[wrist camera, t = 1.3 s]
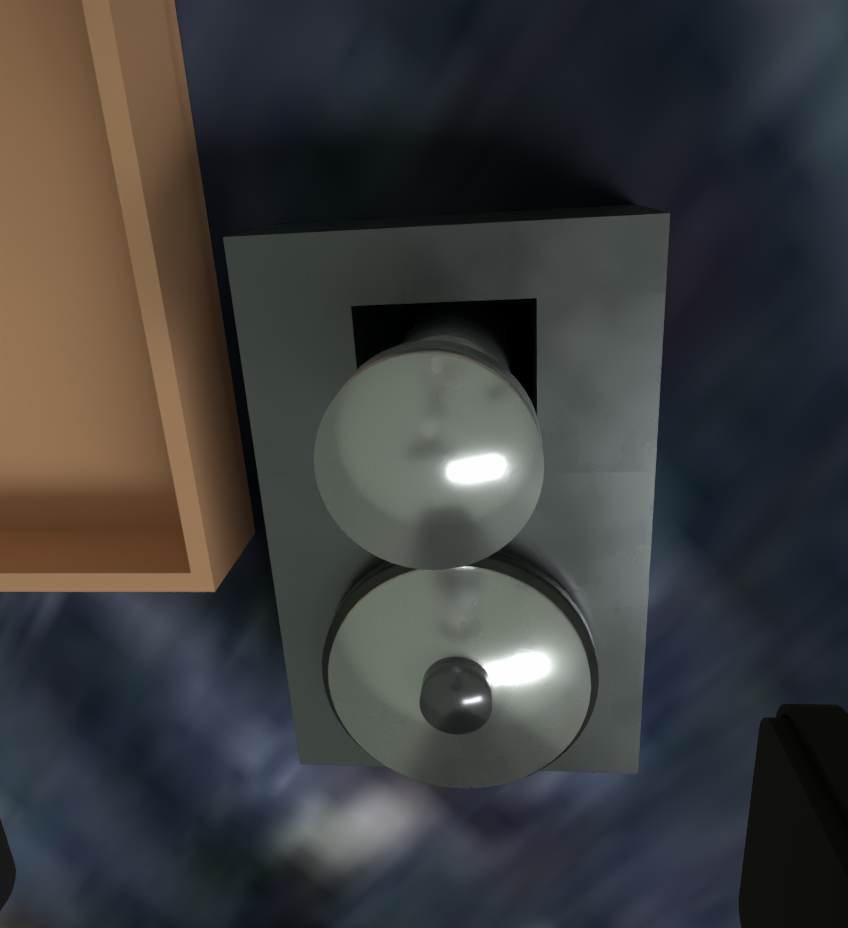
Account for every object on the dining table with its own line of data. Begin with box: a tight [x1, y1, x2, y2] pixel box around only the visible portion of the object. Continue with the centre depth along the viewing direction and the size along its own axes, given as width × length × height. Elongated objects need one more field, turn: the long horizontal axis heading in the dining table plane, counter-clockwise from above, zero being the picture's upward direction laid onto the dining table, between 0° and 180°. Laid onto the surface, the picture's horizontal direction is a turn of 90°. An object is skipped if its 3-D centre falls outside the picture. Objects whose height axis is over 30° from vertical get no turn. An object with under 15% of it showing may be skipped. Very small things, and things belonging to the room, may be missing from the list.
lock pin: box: [314, 301, 544, 570], centre depth 23 cm, size 5×5×12 cm
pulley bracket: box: [223, 204, 670, 788], centre depth 27 cm, size 20×13×8 cm, turn 3°
